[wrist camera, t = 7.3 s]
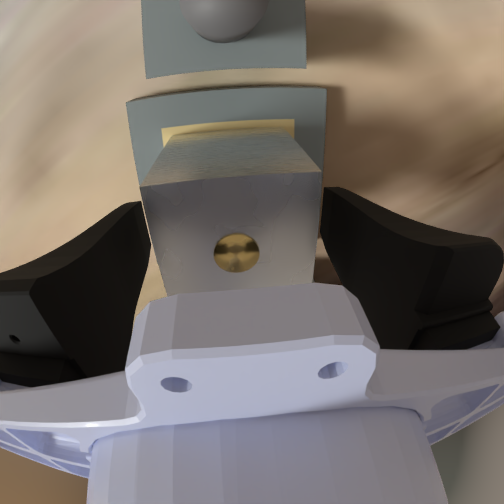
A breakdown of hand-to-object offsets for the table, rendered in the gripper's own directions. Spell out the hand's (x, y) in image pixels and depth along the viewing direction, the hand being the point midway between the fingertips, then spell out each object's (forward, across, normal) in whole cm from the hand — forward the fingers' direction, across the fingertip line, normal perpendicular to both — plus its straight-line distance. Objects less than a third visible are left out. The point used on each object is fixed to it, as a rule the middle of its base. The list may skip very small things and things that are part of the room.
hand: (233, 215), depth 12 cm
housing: (+3, 0, 0) cm, 3 cm away
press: (+4, 0, 0) cm, 4 cm away
